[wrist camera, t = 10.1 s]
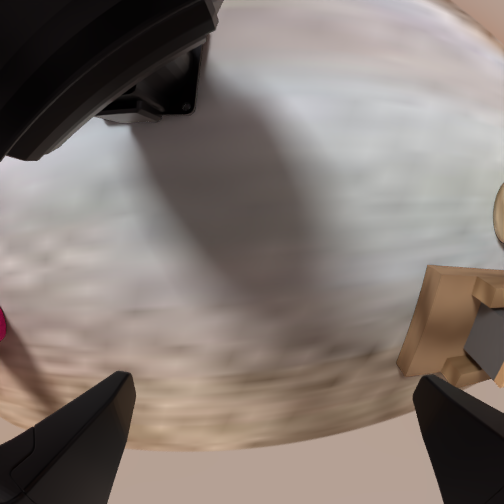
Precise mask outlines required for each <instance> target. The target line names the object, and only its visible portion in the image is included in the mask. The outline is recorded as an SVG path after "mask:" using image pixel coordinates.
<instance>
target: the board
mask: <svg viewBox="0 0 504 504" xmlns="http://www.w3.org/2000/svg"><path fill="white" fill-rule="evenodd" d="M481 302H483V303H484V304H485V305H487V306H488V307H489V308H499V307H504V270H491V269H477V268H463V267H449V266H436V265H427V269H426V273H425V277H424V281H423V284H422V288H421V292H420V295H419V299H418V302H417V305H416V308H415V312H414V315H413V318H412V321H411V324H410V327H409V330H408V333H407V336H406V338H405V341H404V344H403V347H402V349H401V352H400V355H399V357H398V360H397V362H396V363H397V365H398V366H399V368H400V369H401V371H402V372H403V374H404V376H405V377H408V376H416V375H423V374H429V373H436V372H441V373H442V374H443V375H444V377H445V378H446V379H447V381H448V382H449V383H450V384H452V385H453V386H455V387H457V388H459V387H463V386H467V385H471V384H475V383H478V382H482V381H485V380H489V379H491V378H490V376H489V375H488V374H487V373H486V372H485V371H484V370H483V369H482V368H481V367H480V365H479V364H478V363H477V362H476V361H475V360H474V359H473V358H472V357H471V356H470V355H469V354H468V353H467V352H466V351H465V350H464V345H465V343H466V341H467V338H468V336H469V334H470V331H471V329H472V326H473V324H474V321H475V318H476V316H477V313H478V310H479V307H480V305H481Z"/></svg>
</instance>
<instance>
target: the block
mask: <svg viewBox="0 0 504 504" xmlns="http://www.w3.org/2000/svg"><path fill="white" fill-rule="evenodd" d="M464 350H465V351H466V352H467V353H468V354H469V355H470V356H471V357H472V358H473V359H474V360H475V361H476V362H477V363H478V364H479V365H480V367H481V368H482V369H483V370H484V371H485V372H486V373H487V374H488V375H489V376H490V378H491V379H492V380H493V381H494V382H495V383H496V384H497V385H498V387H499V388H502V387H504V307H499V308H489V307H488V306H487V305H485V304H484V303H483V302H481V305H480V307H479V310H478V313H477V316H476V318H475V321H474V324H473V326H472V329H471V331H470V334H469V336H468V338H467V341H466V343H465V345H464Z"/></svg>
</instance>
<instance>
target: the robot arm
mask: <svg viewBox="0 0 504 504" xmlns="http://www.w3.org/2000/svg"><path fill="white" fill-rule="evenodd" d="M223 1H224V0H0V162H1V161H2V159H3V158H4V157H5V156H9V157H12V158H16V159H19V160H24V161H38V160H40V158H41V157H42V156H43V155H45V154H49V153H50V152H52V151H54V150H55V149H57V148H59V147H60V146H61V145H62V144H63V143H64V142H65V141H66V140H68V139H69V138H70V137H71V136H72V135H73V134H74V133H75V132H76V131H77V130H79V129H80V128H81V127H82V126H83V125H84V124H85V123H87V122H88V121H89V120H90V119H91V118H93V117H98V118H102V119H107V120H111V121H115V122H119V123H138V122H159V121H160V120H161V119H162V116H177V115H181V116H187V115H191V114H192V113H193V112H194V111H195V108H196V99H197V90H198V81H199V72H200V64H201V57H202V49H203V43H205V42H206V35H207V34H209V33H211V32H213V31H215V30H216V27H217V24H218V22H219V21H218V17H217V13H218V11H219V9H220V7H221V5H222V3H223ZM185 104H190V109H189V110H187V111H185V110H184V109H183V107H184V105H185ZM135 400H136V391H135V386H134V382H133V377H132V375H131V373H129V372H124V371H116V372H115V373H113V374H112V375H110V376H109V377H107V378H106V379H104V380H103V381H101V382H100V383H98V384H97V385H95V386H94V387H92V388H91V389H89V390H88V391H86V392H85V393H83V394H82V395H80V396H79V397H77V398H76V399H74V400H73V401H71V402H70V403H68V404H67V405H65V406H64V407H62V408H61V409H59V410H57V411H56V412H54V413H53V414H51V415H50V416H48V417H47V418H45V419H44V420H42V421H41V422H39V423H37V424H36V425H35V426H34V427H31V428H29V429H28V430H26V431H25V432H23V433H22V434H20V435H18V436H17V437H15V438H13V439H12V440H9V441H7V442H5V443H4V444H1V445H0V504H107V502H108V499H109V495H110V492H111V489H112V486H113V482H114V479H115V476H116V473H117V470H118V467H119V463H120V460H121V457H122V454H123V451H124V448H125V445H126V442H127V438H128V433H129V428H130V423H131V419H132V414H133V409H134V405H135ZM413 403H414V406H415V410H416V414H417V418H418V422H419V426H420V430H421V433H422V437H423V440H424V443H425V445H426V449H427V451H428V454H429V457H430V460H431V463H432V466H433V469H434V472H435V476H436V479H437V482H438V485H439V488H440V492H441V495H442V499H443V502H444V504H504V413H502V412H500V411H498V410H497V409H495V408H493V407H491V406H489V405H487V404H486V403H484V402H482V401H480V400H479V399H476V398H475V397H473V396H471V395H470V394H468V393H466V392H464V391H462V390H461V389H459V388H457V387H455V386H453V385H452V384H450V383H448V382H446V381H444V380H443V379H441V378H439V377H437V376H436V375H433V374H431V375H425V376H423V377H422V378H421V379H420V381H419V383H418V385H417V387H416V389H415V391H414V393H413Z"/></svg>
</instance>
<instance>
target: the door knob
mask: <svg viewBox="0 0 504 504" xmlns="http://www.w3.org/2000/svg"><path fill="white" fill-rule="evenodd" d="M493 221H494V228H495V232H496V235H497V237H498V238H499V240H500V241H501V242H503V243H504V183H503V184H502V186H501V187H500V189H499V191H498V193H497V196H496V200H495V204H494V212H493Z"/></svg>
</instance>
